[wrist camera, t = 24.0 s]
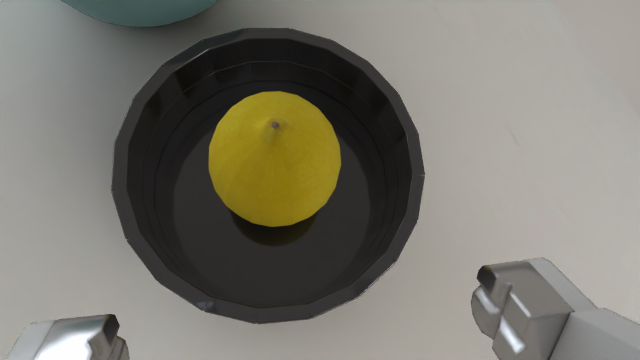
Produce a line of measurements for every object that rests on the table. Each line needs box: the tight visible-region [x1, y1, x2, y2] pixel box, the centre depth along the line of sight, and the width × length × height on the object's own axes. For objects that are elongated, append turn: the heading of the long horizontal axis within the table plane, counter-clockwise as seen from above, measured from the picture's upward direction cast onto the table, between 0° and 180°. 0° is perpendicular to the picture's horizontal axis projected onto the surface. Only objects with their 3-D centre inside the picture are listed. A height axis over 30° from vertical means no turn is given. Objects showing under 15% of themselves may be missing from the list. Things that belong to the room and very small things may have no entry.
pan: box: [111, 28, 425, 324], centre depth 19 cm, size 13×13×4 cm
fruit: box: [209, 91, 341, 227], centre depth 17 cm, size 6×6×8 cm
